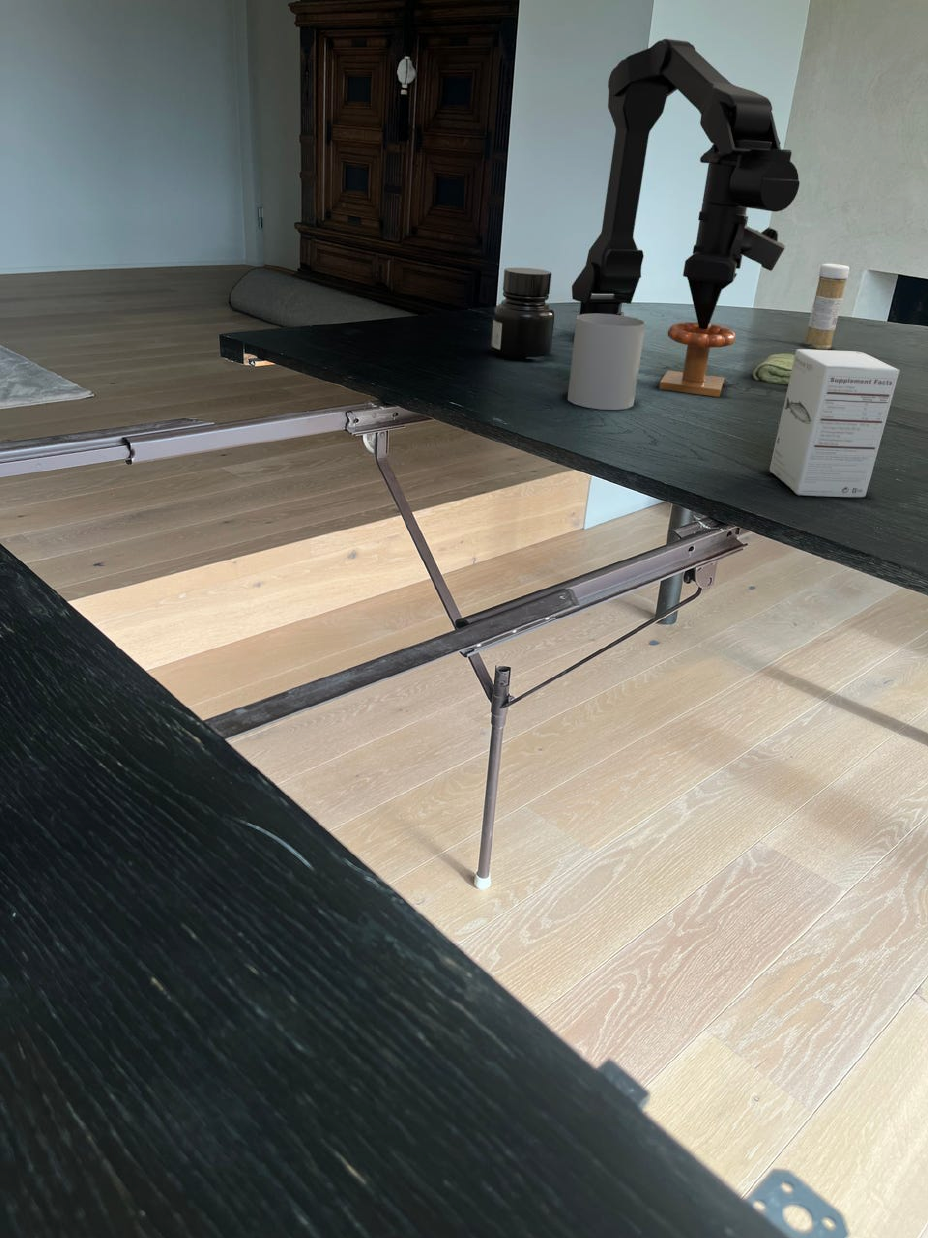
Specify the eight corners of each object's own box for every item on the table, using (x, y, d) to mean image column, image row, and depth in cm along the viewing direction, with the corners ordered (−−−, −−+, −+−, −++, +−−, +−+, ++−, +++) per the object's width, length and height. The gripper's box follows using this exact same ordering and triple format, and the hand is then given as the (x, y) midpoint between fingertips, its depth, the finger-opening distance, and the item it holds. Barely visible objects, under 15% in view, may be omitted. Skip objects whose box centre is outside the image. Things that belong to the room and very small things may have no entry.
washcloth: (881, 406, 128) (887, 382, 127) (748, 385, 134) (753, 361, 133) (888, 387, 139) (894, 365, 137) (765, 368, 145) (769, 347, 144)
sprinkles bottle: (812, 343, 167) (831, 262, 161) (836, 349, 164) (855, 266, 158) (797, 346, 164) (815, 263, 158) (821, 351, 161) (840, 267, 155)
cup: (638, 398, 123) (650, 318, 119) (627, 413, 116) (639, 329, 112) (575, 389, 126) (584, 310, 121) (560, 403, 119) (569, 320, 114)
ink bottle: (506, 346, 148) (513, 264, 143) (559, 354, 145) (568, 271, 140) (480, 356, 141) (486, 270, 135) (535, 365, 137) (543, 277, 132)
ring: (663, 343, 126) (665, 331, 125) (671, 330, 133) (673, 318, 133) (731, 351, 124) (733, 339, 123) (735, 337, 131) (738, 325, 130)
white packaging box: (766, 471, 99) (793, 347, 93) (835, 474, 99) (866, 350, 94) (794, 496, 92) (825, 364, 86) (867, 498, 93) (903, 367, 87)
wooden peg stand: (659, 389, 129) (667, 335, 126) (666, 377, 136) (674, 326, 133) (719, 397, 127) (729, 343, 124) (723, 384, 134) (733, 333, 131)
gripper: (787, 213, 114) (761, 346, 121) (789, 205, 130) (766, 324, 137) (693, 205, 117) (672, 336, 124) (707, 199, 133) (688, 315, 140)
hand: (703, 327), depth 131 cm, fingers closed on ring, 1 cm apart
